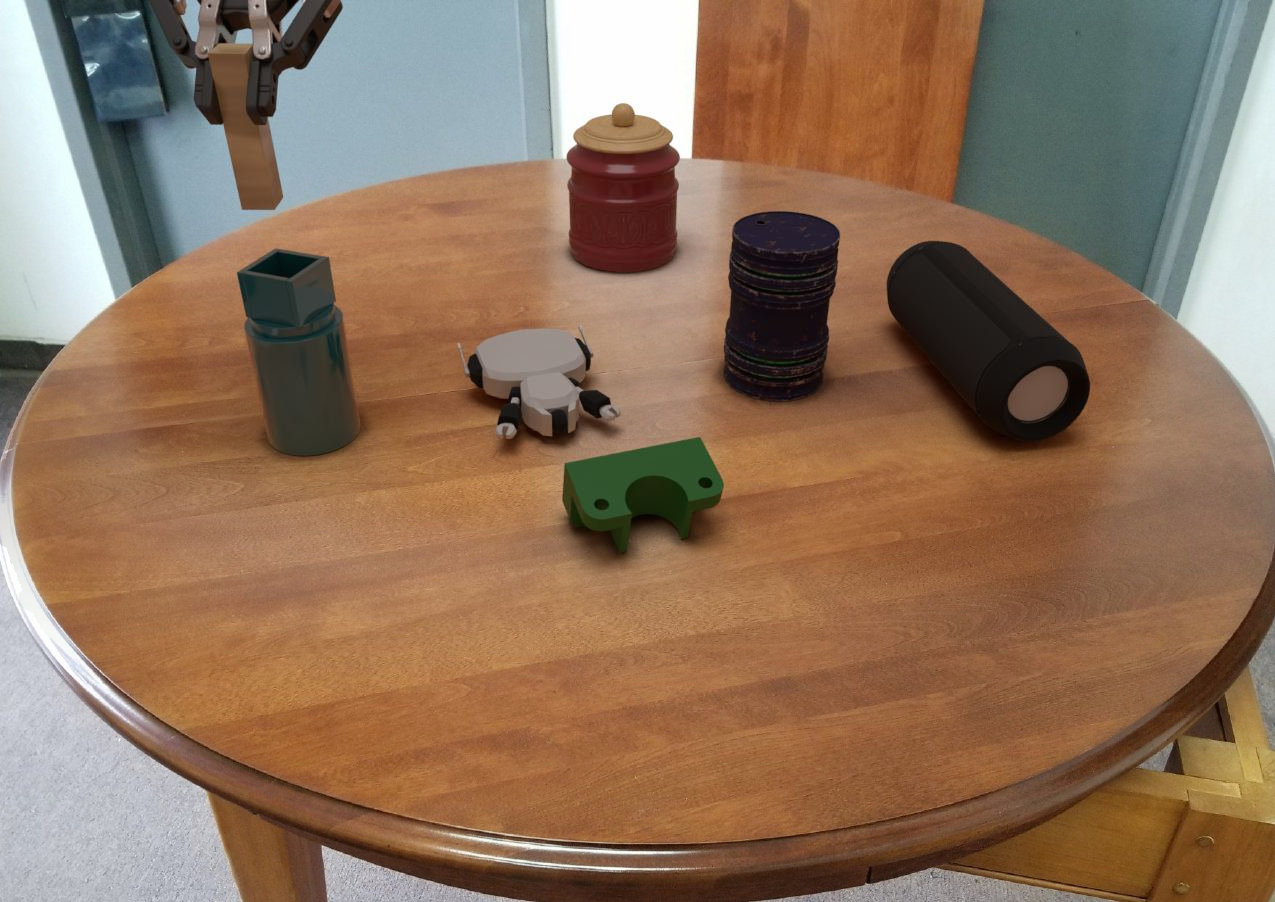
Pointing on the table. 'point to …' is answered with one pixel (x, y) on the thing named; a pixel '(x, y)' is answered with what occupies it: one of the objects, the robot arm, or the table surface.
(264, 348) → the bottle
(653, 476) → the clamp
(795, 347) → the dark blue cylinder
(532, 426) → the robot toy
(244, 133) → the stick
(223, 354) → the table surface
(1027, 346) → the portable speaker
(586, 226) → the kitchen canister
